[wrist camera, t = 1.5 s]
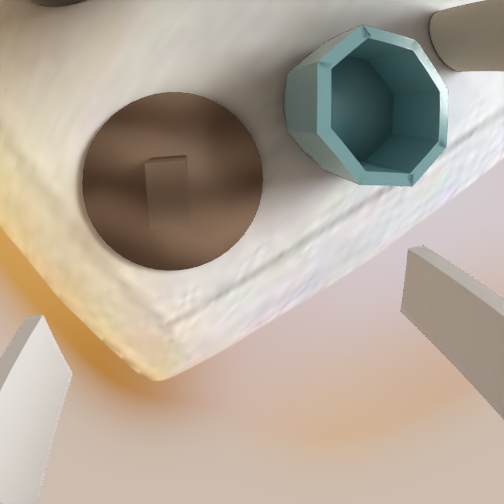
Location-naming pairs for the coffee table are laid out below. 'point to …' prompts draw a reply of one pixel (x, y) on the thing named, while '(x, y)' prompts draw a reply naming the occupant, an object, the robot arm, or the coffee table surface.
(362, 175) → the bowl
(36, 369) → the robot arm
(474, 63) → the travel mug
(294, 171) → the coffee table surface
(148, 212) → the lid
